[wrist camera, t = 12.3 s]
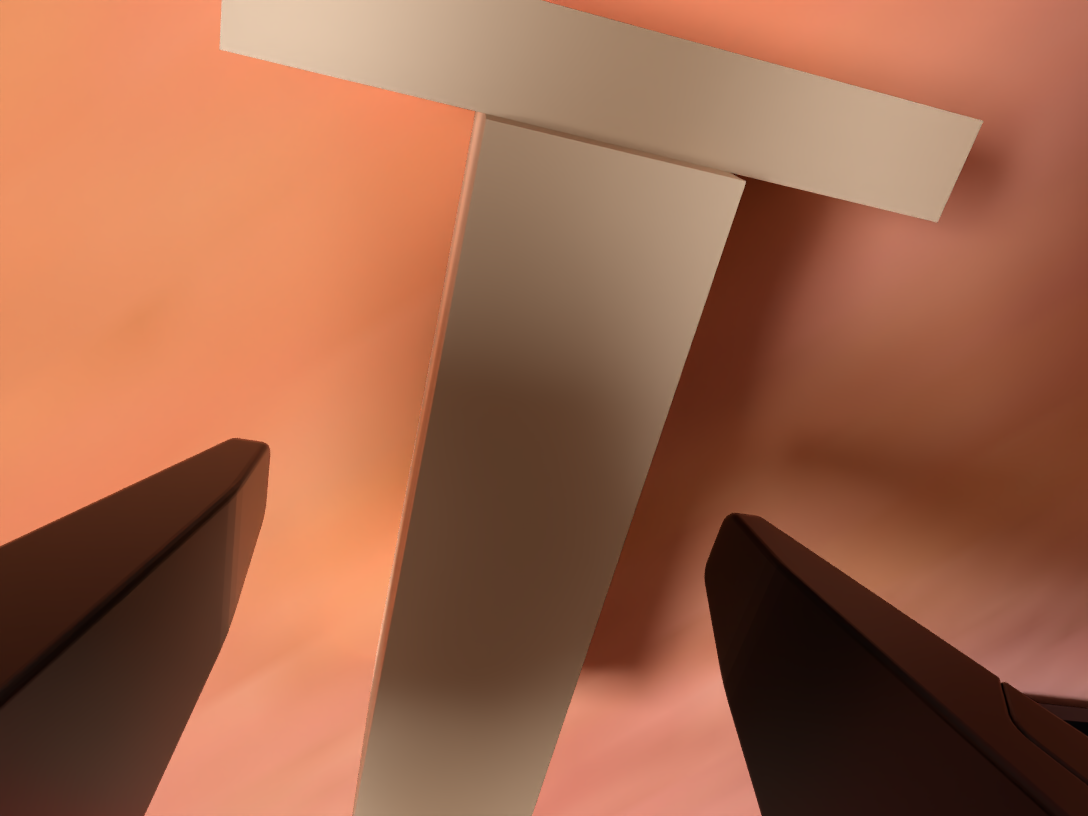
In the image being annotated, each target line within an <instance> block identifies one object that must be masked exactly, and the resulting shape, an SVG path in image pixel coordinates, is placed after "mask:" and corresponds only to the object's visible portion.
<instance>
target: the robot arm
mask: <svg viewBox="0 0 1088 816" xmlns="http://www.w3.org/2000/svg"><path fill="white" fill-rule="evenodd" d="M269 464H270V448H269V446H268V444H266V443H264V442H260V441H253V440H246V439H240V438H232V439H229V440H227V441H225V442H222V443H220V444H218V445H216V446H214V447H212V448H210V449H207V450H205V451H203V452H201V453H199V454H197V455H195V456H193V457H190V458H188V459H186V460H184V461H182V462H180V463H178V464H175V465H173V466H171V467H169V468H167V469H165V470H163V471H160V472H158V473H156V474H154V475H152V476H150V477H148V478H145V479H143V480H141V481H139V482H137V483H135V484H133V485H130V486H128V487H126V488H124V489H122V490H120V491H118V492H116V493H113V494H111V495H109V496H107V497H105V498H103V499H101V500H98V501H96V502H94V503H92V504H90V505H88V506H86V507H83V508H81V509H79V510H77V511H75V512H73V513H71V514H68V515H66V516H64V517H62V518H60V519H58V520H56V521H53V522H51V523H49V524H47V525H45V526H43V527H41V528H39V529H36V530H34V531H32V532H30V533H28V534H26V535H24V536H21V537H19V538H17V539H15V540H13V541H11V542H9V543H6V544H4V545H2V546H0V816H144V815H145V813H146V811H147V809H148V807H149V804H150V802H151V800H152V798H153V796H154V794H155V791H156V789H157V787H158V785H159V783H160V781H161V778H162V776H163V774H164V772H165V770H166V768H167V765H168V763H169V761H170V759H171V757H172V755H173V752H174V750H175V748H176V746H177V744H178V742H179V739H180V737H181V735H182V733H183V731H184V728H185V726H186V724H187V722H188V720H189V718H190V715H191V713H192V711H193V709H194V707H195V705H196V702H197V700H198V698H199V696H200V694H201V692H202V689H203V687H204V685H205V683H206V681H207V679H208V676H209V674H210V672H211V670H212V668H213V666H214V663H215V661H216V659H217V657H218V655H219V653H220V650H221V648H222V645H223V643H224V641H225V638H226V636H227V634H228V631H229V628H230V625H231V622H232V619H233V616H234V613H235V610H236V607H237V604H238V600H239V597H240V594H241V591H242V587H243V584H244V581H245V578H246V574H247V571H248V568H249V565H250V561H251V558H252V555H253V552H254V548H255V545H256V542H257V539H258V535H259V532H260V529H261V526H262V522H263V518H264V514H265V508H266V499H267V487H268V476H269ZM705 587H706V592H707V598H708V603H709V609H710V615H711V620H712V626H713V632H714V637H715V643H716V648H717V654H718V660H719V665H720V671H721V675H722V680H723V685H724V689H725V692H726V696H727V700H728V704H729V707H730V710H731V714H732V717H733V720H734V724H735V727H736V731H737V734H738V737H739V741H740V744H741V747H742V751H743V754H744V758H745V761H746V764H747V768H748V771H749V774H750V778H751V781H752V785H753V788H754V791H755V795H756V798H757V801H758V805H759V808H760V812H761V815H762V816H1088V709H1086V708H1077V707H1068V706H1059V705H1050V704H1040V703H1036V702H1035V701H1033V700H1032V699H1030V698H1029V697H1027V696H1026V695H1024V694H1023V693H1021V692H1020V691H1018V690H1017V689H1015V688H1014V687H1012V686H1011V685H1009V684H1008V683H1006V682H1002V683H1001V682H1000V679H999V678H998V677H997V676H996V675H994V674H993V673H991V672H990V671H988V670H987V669H985V668H984V667H982V666H981V665H980V664H978V663H977V662H975V661H974V660H972V659H971V658H969V657H968V656H966V655H965V654H963V653H962V652H960V651H959V650H957V649H956V648H954V647H953V646H951V645H950V644H948V643H947V642H945V641H944V640H942V639H941V638H940V637H938V636H937V635H935V634H934V633H932V632H931V631H929V630H928V629H926V628H925V627H923V626H922V625H920V624H919V623H917V622H916V621H914V620H913V619H911V618H910V617H908V616H907V615H905V614H904V613H902V612H901V611H899V610H898V609H897V608H895V607H894V606H892V605H891V604H889V603H888V602H886V601H885V600H883V599H882V598H880V597H879V596H877V595H876V594H874V593H873V592H871V591H870V590H868V589H867V588H865V587H864V586H862V585H861V584H859V583H858V582H857V581H855V580H854V579H852V578H851V577H849V576H848V575H846V574H845V573H843V572H842V571H840V570H839V569H837V568H836V567H834V566H833V565H831V564H830V563H828V562H827V561H825V560H824V559H822V558H821V557H819V556H818V555H817V554H815V553H814V552H812V551H811V550H809V549H808V548H806V547H805V546H803V545H802V544H800V543H799V542H797V541H796V540H794V539H793V538H791V537H790V536H788V535H787V534H785V533H784V532H782V531H781V530H779V529H778V528H776V527H775V526H774V525H772V524H771V523H769V522H768V521H766V520H765V519H763V518H761V517H758V516H754V515H747V514H740V513H731V514H729V515H728V516H727V517H726V518H725V519H724V521H723V523H722V525H721V527H720V530H719V533H718V535H717V538H716V540H715V543H714V545H713V548H712V550H711V553H710V555H709V558H708V560H707V563H706V568H705Z"/></svg>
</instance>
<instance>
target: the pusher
mask: <svg viewBox="0 0 1088 816" xmlns="http://www.w3.org/2000/svg"><path fill="white" fill-rule="evenodd" d="M220 50H224V51H228V52H232V53H236V54H241V55H245V56H249V57H253V58H257V59H261V60H265V61H270V62H274V63H278V64H282V65H286V66H290V67H294V68H299V69H303V70H307V71H311V72H315V73H319V74H323V75H328V76H332V77H336V78H340V79H344V80H348V81H352V82H357V83H361V84H365V85H369V86H373V87H377V88H382V89H386V90H390V91H394V92H398V93H402V94H406V95H411V96H415V97H419V98H423V99H427V100H431V101H435V102H440V103H444V104H448V105H452V106H456V107H460V108H464V109H469V110H473V111H475V116H474V122H473V127H472V132H471V138H470V143H469V149H468V154H467V160H466V165H465V171H464V176H463V182H462V187H461V193H460V198H459V204H458V209H457V215H456V220H455V225H454V231H453V236H452V242H451V247H450V253H449V258H448V264H447V269H446V275H445V280H444V286H443V291H442V297H441V302H440V308H439V313H438V319H437V324H436V329H435V335H434V340H433V346H432V351H431V357H430V362H429V368H428V373H427V379H426V384H425V390H424V395H423V401H422V406H421V412H420V417H419V422H418V428H417V433H416V439H415V444H414V450H413V455H412V461H411V466H410V472H409V477H408V483H407V488H406V494H405V499H404V505H403V510H402V516H401V521H400V526H399V532H398V537H397V543H396V548H395V554H394V559H393V565H392V570H391V576H390V581H389V587H388V592H387V598H386V603H385V609H384V614H383V619H382V625H381V630H380V636H379V641H378V647H377V652H376V659H375V665H374V672H373V679H372V686H371V692H370V699H369V706H368V713H367V720H366V726H365V733H364V740H363V747H362V754H361V760H360V767H359V774H358V781H357V787H356V794H355V801H354V808H353V815H352V816H532V814H533V811H534V808H535V805H536V802H537V799H538V796H539V793H540V790H541V787H542V784H543V781H544V778H545V775H546V772H547V769H548V766H549V763H550V761H551V758H552V755H553V752H554V749H555V746H556V743H557V740H558V737H559V734H560V731H561V728H562V725H563V722H564V719H565V716H566V713H567V710H568V707H569V704H570V701H571V698H572V695H573V692H574V690H575V687H576V684H577V681H578V678H579V675H580V672H581V669H582V666H583V663H584V660H585V657H586V654H587V651H588V648H589V645H590V642H591V639H592V636H593V633H594V630H595V627H596V624H597V622H598V619H599V616H600V613H601V610H602V607H603V604H604V601H605V598H606V595H607V592H608V589H609V586H610V583H611V580H612V577H613V574H614V571H615V568H616V565H617V562H618V559H619V556H620V553H621V551H622V548H623V545H624V542H625V539H626V536H627V533H628V530H629V527H630V524H631V521H632V518H633V515H634V512H635V509H636V506H637V503H638V500H639V497H640V494H641V491H642V488H643V485H644V482H645V480H646V477H647V474H648V471H649V468H650V465H651V462H652V459H653V456H654V453H655V450H656V447H657V444H658V441H659V438H660V435H661V432H662V429H663V426H664V423H665V420H666V417H667V414H668V412H669V409H670V406H671V403H672V400H673V397H674V394H675V391H676V388H677V385H678V382H679V379H680V376H681V373H682V370H683V367H684V364H685V361H686V358H687V355H688V352H689V349H690V346H691V343H692V341H693V338H694V335H695V332H696V329H697V326H698V323H699V320H700V317H701V314H702V311H703V308H704V305H705V302H706V299H707V296H708V293H709V290H710V287H711V284H712V281H713V278H714V275H715V273H716V270H717V267H718V264H719V261H720V258H721V255H722V252H723V249H724V246H725V243H726V240H727V237H728V234H729V231H730V228H731V225H732V222H733V219H734V216H735V213H736V210H737V207H738V204H739V202H740V199H741V196H742V193H743V190H744V187H745V184H746V181H745V180H743V179H741V178H739V177H737V176H735V175H733V174H731V173H734V174H738V175H742V176H746V177H751V178H755V179H759V180H763V181H767V182H771V183H775V184H780V185H784V186H788V187H792V188H796V189H800V190H804V191H809V192H813V193H817V194H821V195H825V196H829V197H833V198H838V199H842V200H846V201H850V202H854V203H858V204H862V205H867V206H871V207H875V208H879V209H883V210H887V211H892V212H896V213H900V214H904V215H908V216H912V217H916V218H921V219H925V220H929V221H933V222H937V223H938V220H939V218H940V216H941V214H942V211H943V209H944V207H945V205H946V203H947V200H948V198H949V196H950V194H951V192H952V189H953V187H954V185H955V183H956V181H957V178H958V176H959V174H960V172H961V170H962V167H963V165H964V163H965V161H966V159H967V156H968V154H969V152H970V150H971V147H972V145H973V143H974V141H975V139H976V136H977V134H978V132H979V130H980V128H981V125H982V123H983V121H982V120H979V119H975V118H971V117H968V116H964V115H960V114H957V113H953V112H949V111H946V110H942V109H938V108H935V107H931V106H927V105H924V104H920V103H916V102H913V101H909V100H905V99H902V98H898V97H894V96H891V95H887V94H883V93H880V92H876V91H872V90H869V89H865V88H861V87H858V86H854V85H850V84H847V83H843V82H839V81H836V80H832V79H828V78H825V77H821V76H817V75H814V74H810V73H806V72H803V71H799V70H795V69H792V68H788V67H784V66H781V65H777V64H773V63H770V62H766V61H762V60H759V59H755V58H751V57H748V56H744V55H740V54H737V53H733V52H729V51H726V50H722V49H718V48H715V47H711V46H707V45H704V44H700V43H696V42H692V41H689V40H685V39H681V38H678V37H674V36H670V35H667V34H663V33H659V32H656V31H652V30H648V29H645V28H641V27H637V26H634V25H630V24H626V23H623V22H619V21H615V20H612V19H608V18H604V17H601V16H597V15H593V14H590V13H586V12H582V11H579V10H575V9H571V8H568V7H564V6H560V5H557V4H553V3H549V2H546V1H542V0H222V8H221V30H220ZM729 172H730V173H729Z"/></svg>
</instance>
